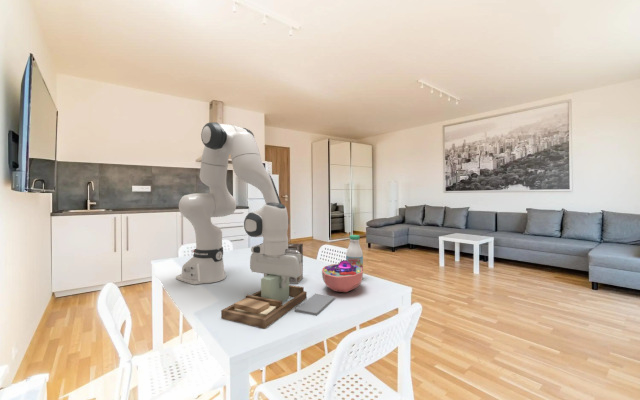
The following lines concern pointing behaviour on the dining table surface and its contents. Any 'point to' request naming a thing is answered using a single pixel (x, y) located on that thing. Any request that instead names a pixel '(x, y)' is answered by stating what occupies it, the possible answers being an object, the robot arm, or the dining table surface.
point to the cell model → (342, 276)
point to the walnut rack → (275, 315)
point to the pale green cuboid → (274, 288)
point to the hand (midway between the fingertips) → (275, 286)
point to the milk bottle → (355, 252)
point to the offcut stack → (254, 307)
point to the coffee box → (300, 249)
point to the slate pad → (315, 304)
